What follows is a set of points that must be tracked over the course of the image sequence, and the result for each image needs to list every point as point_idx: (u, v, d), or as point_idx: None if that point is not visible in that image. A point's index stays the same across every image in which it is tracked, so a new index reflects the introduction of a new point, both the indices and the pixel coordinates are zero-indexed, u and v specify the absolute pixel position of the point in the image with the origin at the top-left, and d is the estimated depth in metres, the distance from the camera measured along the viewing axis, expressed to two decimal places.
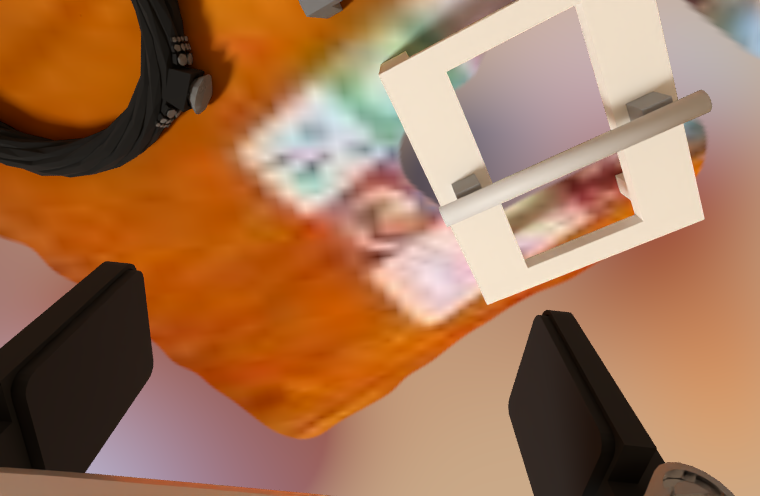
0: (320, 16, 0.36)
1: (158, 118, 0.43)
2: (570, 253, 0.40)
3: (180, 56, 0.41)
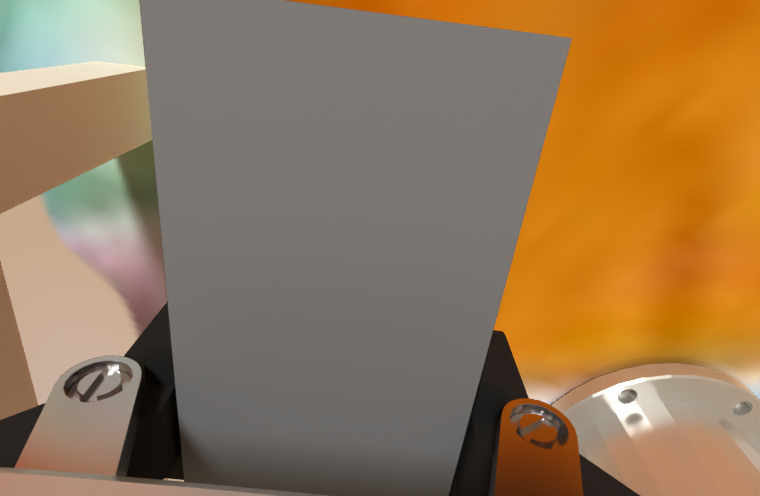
0: None
1: None
2: None
3: None
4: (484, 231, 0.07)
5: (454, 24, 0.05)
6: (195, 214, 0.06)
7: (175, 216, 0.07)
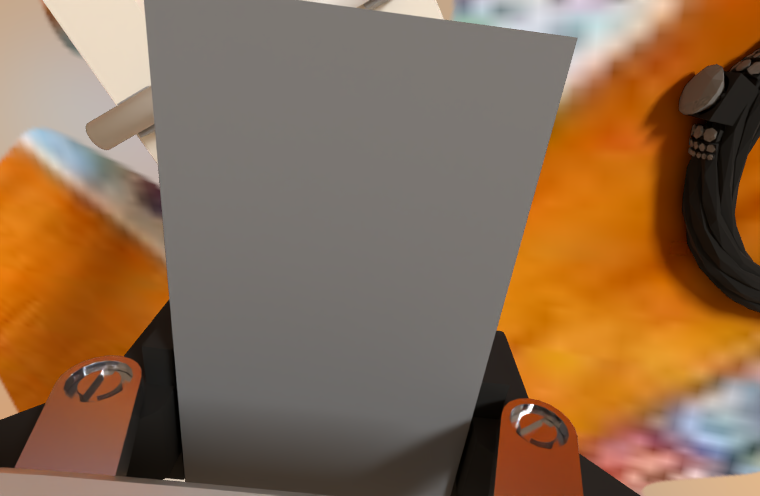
0: None
1: None
2: None
3: (711, 139, 0.35)
4: (488, 231, 0.07)
5: (460, 23, 0.05)
6: (198, 213, 0.06)
7: (178, 215, 0.07)
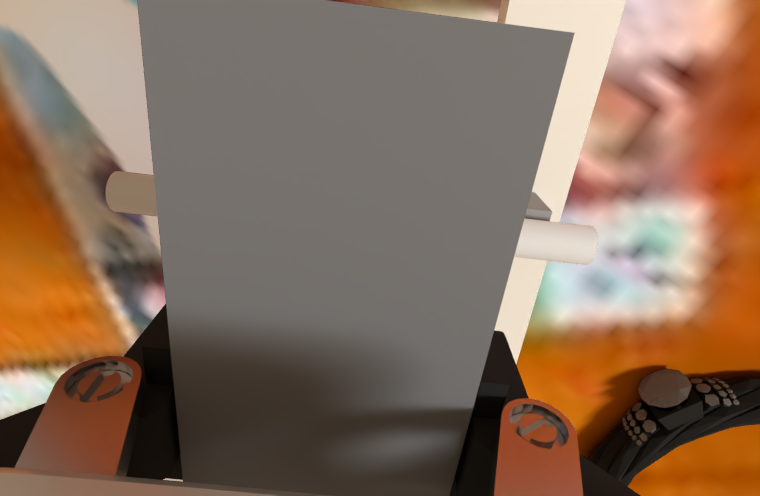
0: None
1: (728, 405, 0.36)
2: None
3: (648, 430, 0.37)
4: (485, 229, 0.06)
5: (455, 18, 0.05)
6: (193, 211, 0.06)
7: (173, 213, 0.06)
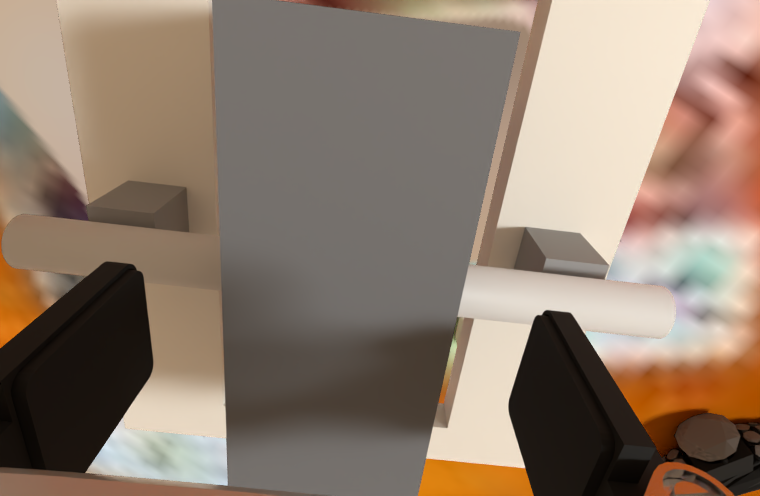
0: None
1: None
2: None
3: None
4: (461, 177, 0.09)
5: (436, 22, 0.08)
6: (244, 165, 0.09)
7: (229, 167, 0.09)
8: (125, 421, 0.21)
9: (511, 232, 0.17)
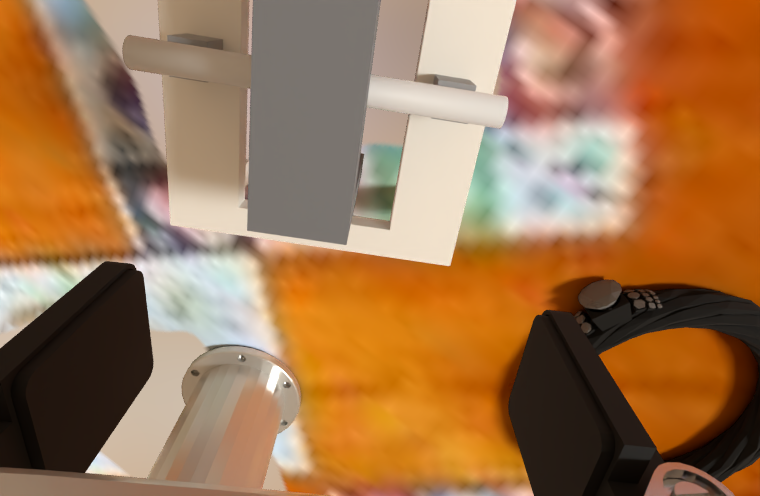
0: None
1: (653, 309, 0.42)
2: None
3: (584, 331, 0.43)
4: None
5: None
6: None
7: None
8: (170, 219, 0.31)
9: (426, 78, 0.27)
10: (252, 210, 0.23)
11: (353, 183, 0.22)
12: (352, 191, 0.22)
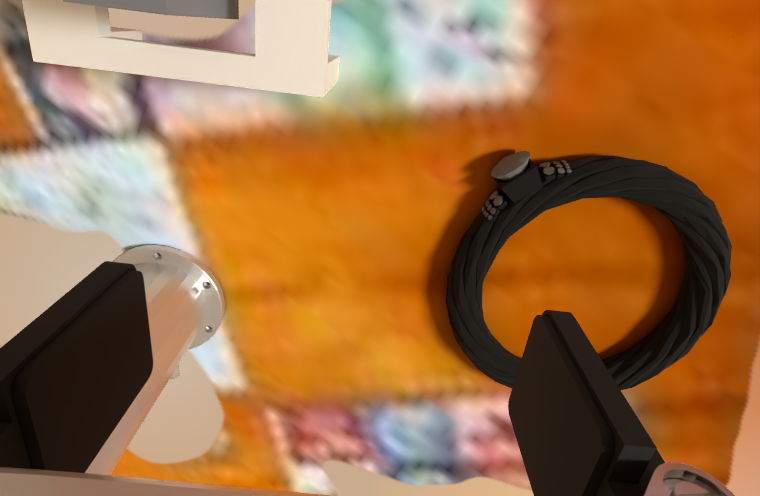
0: None
1: (563, 175, 0.41)
2: None
3: (496, 204, 0.42)
4: None
5: None
6: None
7: None
8: (33, 55, 0.31)
9: None
10: None
11: None
12: None
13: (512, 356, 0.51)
